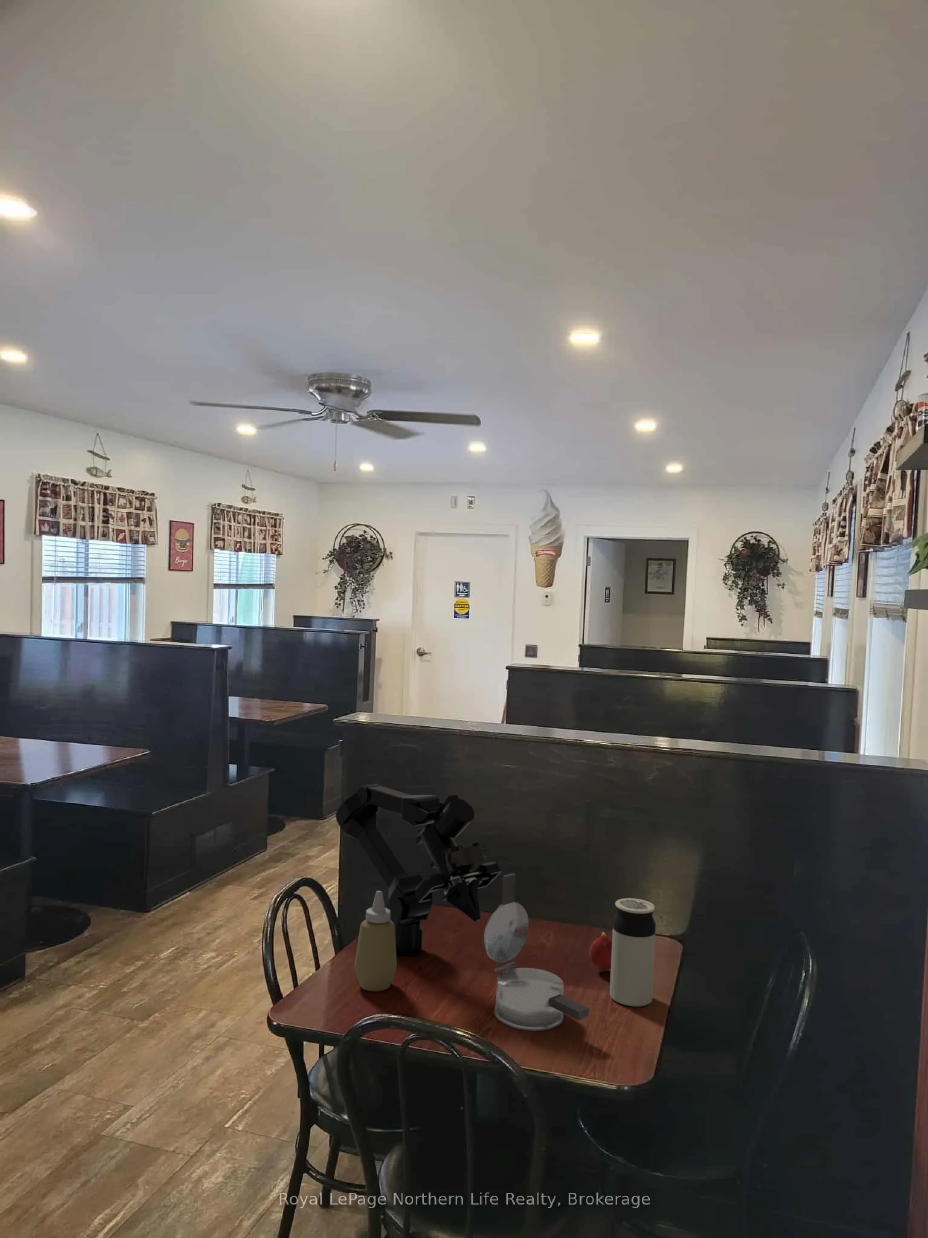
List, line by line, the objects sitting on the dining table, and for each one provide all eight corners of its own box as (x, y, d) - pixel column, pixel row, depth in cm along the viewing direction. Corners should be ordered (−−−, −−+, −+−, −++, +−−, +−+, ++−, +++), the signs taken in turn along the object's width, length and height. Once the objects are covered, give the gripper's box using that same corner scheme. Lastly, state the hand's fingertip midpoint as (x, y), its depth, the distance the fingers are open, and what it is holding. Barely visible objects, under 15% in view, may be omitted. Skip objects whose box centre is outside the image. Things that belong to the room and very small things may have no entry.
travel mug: (625, 1010, 157) (629, 913, 157) (601, 992, 165) (606, 899, 165) (660, 1004, 160) (665, 909, 160) (635, 987, 168) (640, 896, 168)
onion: (622, 972, 174) (624, 933, 174) (606, 980, 170) (608, 940, 170) (598, 964, 178) (600, 925, 178) (582, 971, 174) (584, 932, 174)
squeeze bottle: (402, 981, 165) (406, 889, 165) (385, 998, 158) (389, 901, 158) (364, 974, 168) (369, 883, 168) (346, 990, 160) (350, 894, 160)
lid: (485, 977, 155) (482, 975, 155) (526, 963, 162) (523, 961, 163) (489, 880, 155) (486, 879, 155) (531, 870, 162) (528, 869, 163)
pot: (480, 1011, 154) (481, 978, 154) (527, 993, 162) (529, 962, 162) (558, 1053, 140) (559, 1017, 140) (605, 1032, 149) (607, 997, 149)
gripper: (427, 834, 162) (463, 908, 154) (497, 822, 175) (533, 890, 166) (399, 865, 168) (433, 938, 160) (469, 852, 180) (503, 919, 172)
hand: (478, 920), depth 164 cm, fingers closed
